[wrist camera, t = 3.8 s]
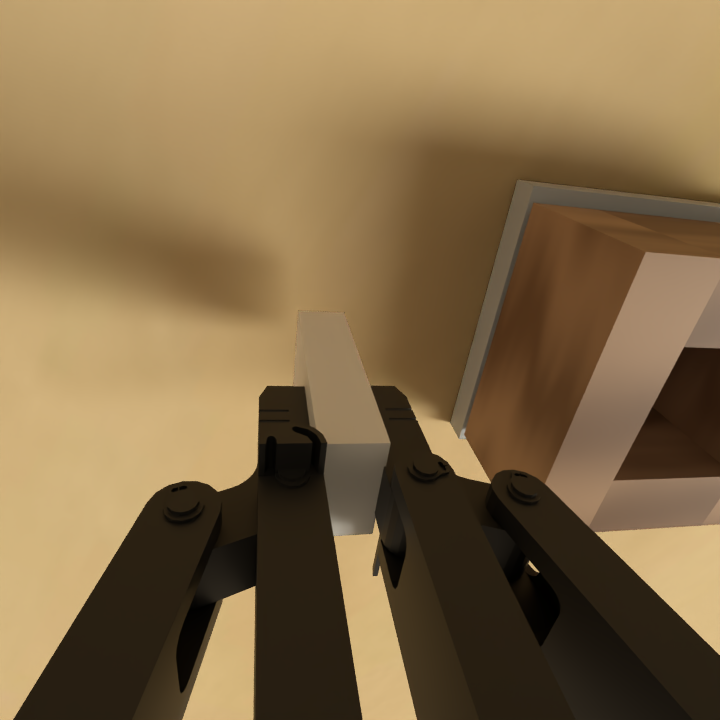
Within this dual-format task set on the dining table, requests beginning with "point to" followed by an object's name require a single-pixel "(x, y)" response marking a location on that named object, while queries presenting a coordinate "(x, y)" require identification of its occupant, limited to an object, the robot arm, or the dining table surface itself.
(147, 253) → the dining table surface
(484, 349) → the grey l-shaped bracket
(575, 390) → the walnut block
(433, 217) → the dining table surface
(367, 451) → the robot arm
